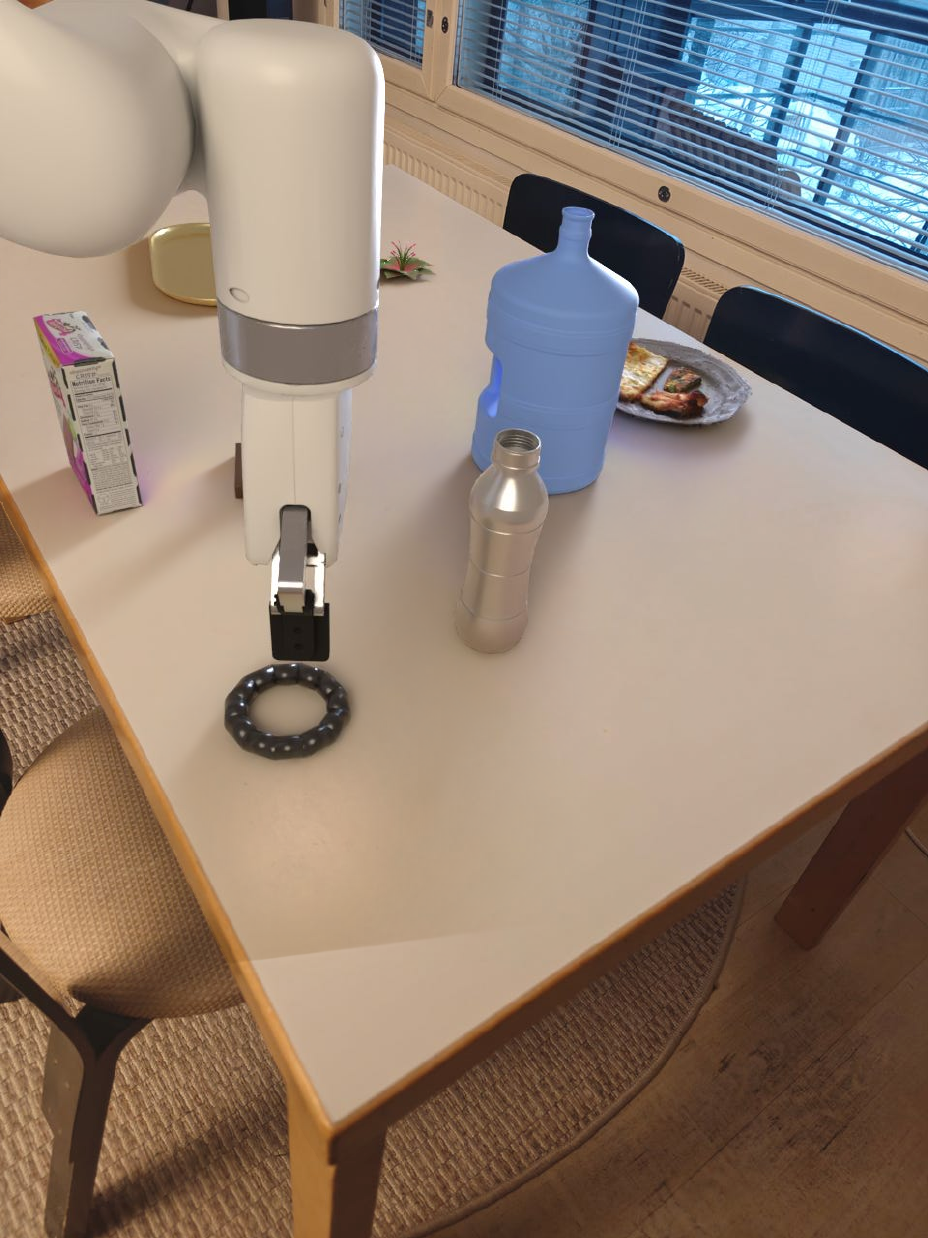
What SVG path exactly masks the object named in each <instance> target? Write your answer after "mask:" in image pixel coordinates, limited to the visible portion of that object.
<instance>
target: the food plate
mask: <svg viewBox="0 0 928 1238" xmlns="http://www.w3.org/2000/svg"><path fill="white" fill-rule="evenodd" d="M752 395H753V387H752V386H751V385H750V383H748V381H747V379H745V378H744V377H743V376H742V375H741V374H739V372H738V371H737V370H736V369H734V368H733V366H730V365H729V364H728V363H727V362H725V361H723V360H721V359H720V358H717V357H715V356H713V355H712V354H711V353H706V351H702V350H700V349H697V348H694V347H690V346H686V345H683V344H681V343H676V342H674V341H668V340H660V339H659V340H658V339H652V338H647V337H646V338H645V337H632V339H631V341H630V343H629V348H628V352H627V357H626V361H625V365H624V370H623V374H622V379H621V383H620V393H619V398H618V402H617V406H616V409H615V410H617V411H620V412H622V413H625V414H626V415H628V416H630V417H632V418H637V419H640V420H645V421H648V422H654V423H660V424H661V423H665V424H671V425H672V424H673V425H677V426H681V427H689V426H692V427H699V429H701V427H709V426H711V425H712V424H713V423H716V424H717V425H721V424H723V423H724V422H727V421H728V420H730V419H731V418H732V417H733V416H734V415H735V413H737V411H739V410H740V409H741V407H742V406H743V404H745V403H746V401H747V400H748V398H749V397H750V396H752Z"/></svg>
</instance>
